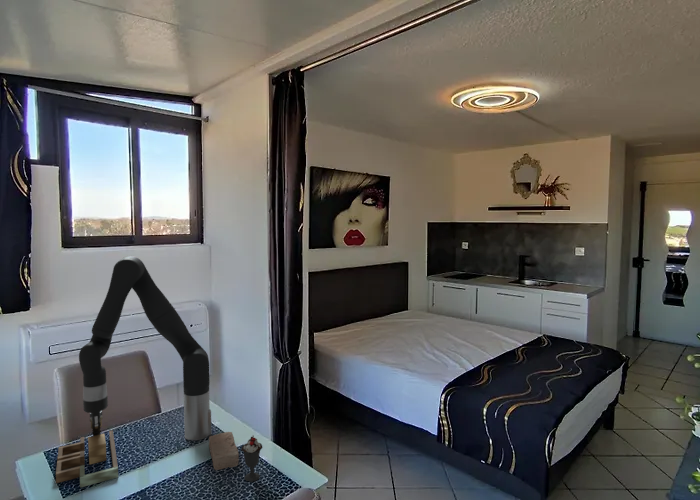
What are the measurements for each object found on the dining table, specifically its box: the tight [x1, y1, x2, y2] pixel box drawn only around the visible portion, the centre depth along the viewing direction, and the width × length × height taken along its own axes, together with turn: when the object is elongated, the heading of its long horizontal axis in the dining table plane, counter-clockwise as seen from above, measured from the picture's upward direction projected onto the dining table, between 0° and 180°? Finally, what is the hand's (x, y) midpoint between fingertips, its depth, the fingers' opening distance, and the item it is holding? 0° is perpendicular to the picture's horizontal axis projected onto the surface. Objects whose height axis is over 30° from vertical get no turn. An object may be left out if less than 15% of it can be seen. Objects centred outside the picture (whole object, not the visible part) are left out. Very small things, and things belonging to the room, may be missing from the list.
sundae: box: [240, 435, 263, 483], centre depth 138 cm, size 7×7×15 cm
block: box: [87, 433, 107, 465], centre depth 149 cm, size 5×8×6 cm, turn 33°
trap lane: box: [55, 430, 119, 488], centre depth 145 cm, size 17×29×3 cm, turn 32°
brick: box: [208, 431, 240, 471], centre depth 151 cm, size 17×8×5 cm, turn 24°
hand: (96, 442), depth 155 cm, fingers closed
